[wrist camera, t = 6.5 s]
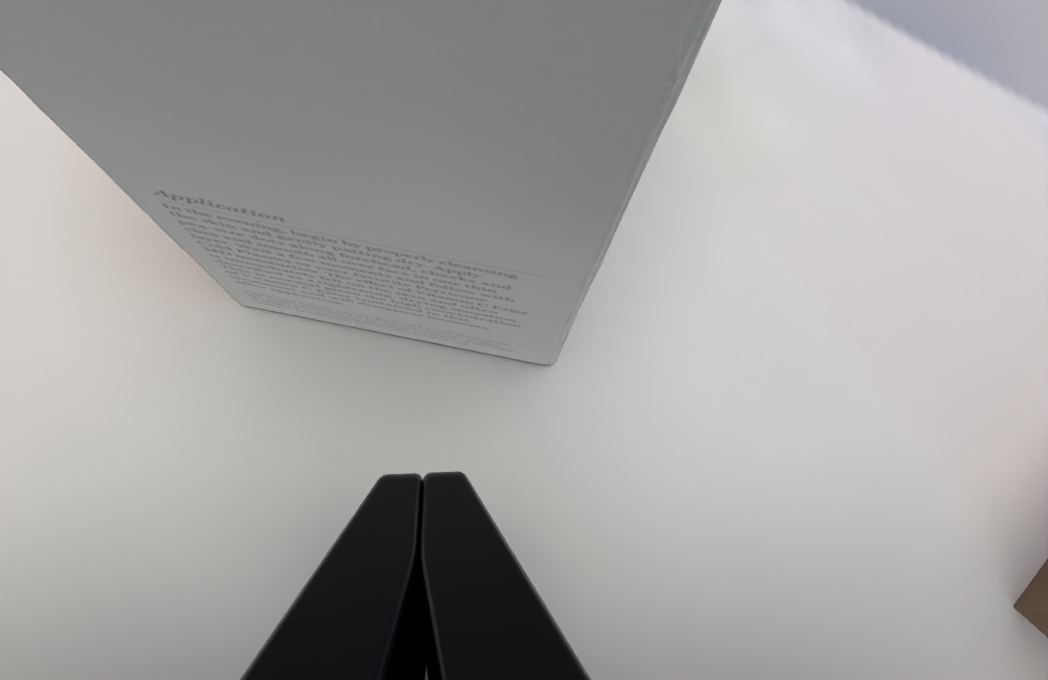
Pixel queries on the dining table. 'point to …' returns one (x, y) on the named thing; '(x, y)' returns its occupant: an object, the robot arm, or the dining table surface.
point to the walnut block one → (1036, 600)
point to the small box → (373, 144)
